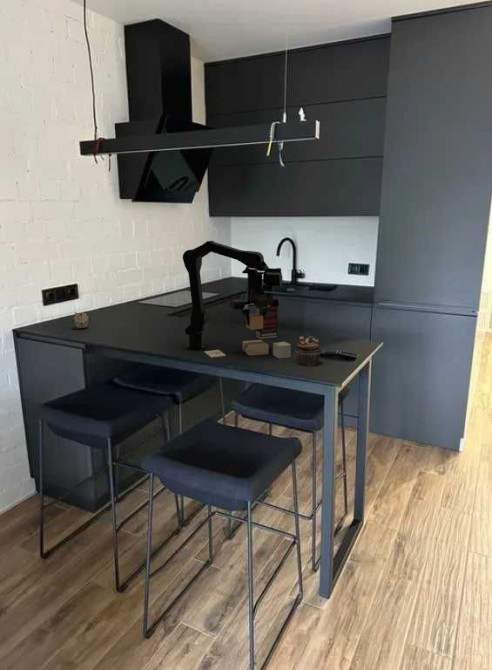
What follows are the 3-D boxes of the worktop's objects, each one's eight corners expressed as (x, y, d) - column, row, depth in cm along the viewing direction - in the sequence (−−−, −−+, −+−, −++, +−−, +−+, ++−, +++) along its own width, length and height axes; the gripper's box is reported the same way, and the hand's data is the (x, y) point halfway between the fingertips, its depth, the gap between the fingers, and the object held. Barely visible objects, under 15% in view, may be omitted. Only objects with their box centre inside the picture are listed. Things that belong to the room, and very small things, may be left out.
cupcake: (289, 360, 178) (290, 335, 175) (309, 357, 182) (311, 332, 180) (305, 367, 170) (306, 340, 167) (326, 364, 175) (327, 337, 172)
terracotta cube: (246, 326, 187) (246, 314, 186) (257, 325, 189) (257, 313, 188) (251, 329, 182) (251, 316, 181) (262, 328, 184) (263, 315, 183)
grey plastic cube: (272, 355, 185) (273, 342, 184) (284, 353, 187) (284, 341, 186) (278, 358, 181) (279, 346, 179) (290, 357, 183) (290, 344, 181)
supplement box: (272, 335, 216) (273, 300, 213) (277, 337, 212) (278, 302, 208) (255, 336, 213) (255, 301, 209) (259, 339, 209) (260, 303, 205)
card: (204, 352, 187) (204, 351, 187) (218, 350, 190) (218, 349, 190) (211, 357, 180) (211, 356, 180) (225, 356, 183) (225, 354, 183)
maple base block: (242, 350, 191) (242, 341, 191) (261, 349, 194) (261, 339, 193) (249, 356, 184) (249, 346, 183) (268, 354, 187) (268, 344, 186)
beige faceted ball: (85, 335, 227) (95, 317, 230) (85, 332, 219) (95, 314, 222) (67, 326, 225) (77, 308, 228) (66, 323, 217) (77, 305, 220)
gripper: (240, 289, 171) (240, 331, 175) (286, 286, 178) (285, 327, 182) (229, 285, 181) (229, 325, 185) (273, 283, 188) (272, 321, 192)
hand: (254, 325), depth 185 cm, fingers closed on terracotta cube, 5 cm apart
